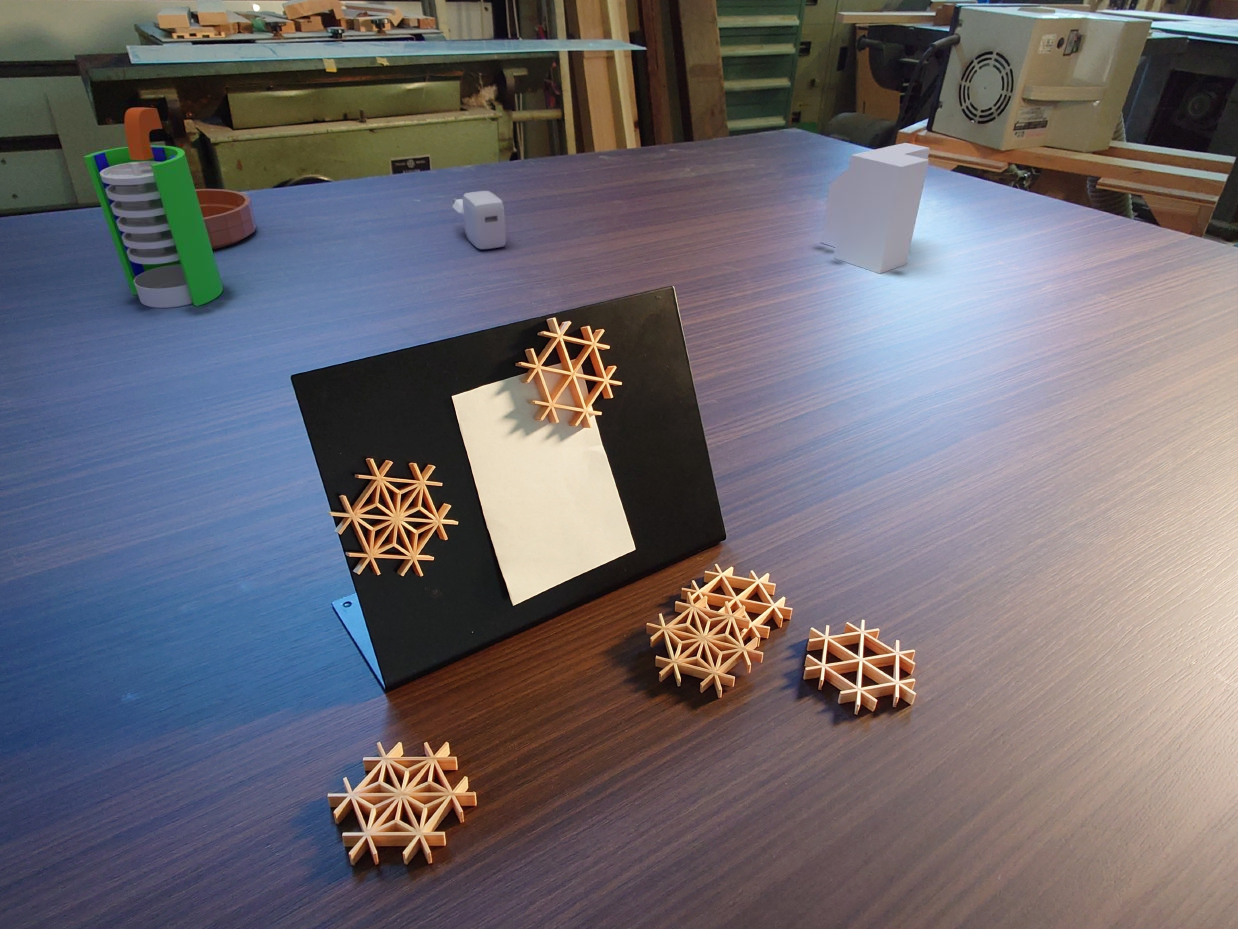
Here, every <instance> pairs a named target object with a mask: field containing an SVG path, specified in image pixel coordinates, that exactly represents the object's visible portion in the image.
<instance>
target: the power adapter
mask: <svg viewBox="0 0 1238 929" xmlns="http://www.w3.org/2000/svg"><path fill="white" fill-rule="evenodd" d="M452 203H453V204H452V209H453V210H454V212H455V213H456V214H457V215H458V216H459V217H460V218H461V219H463V222H464V223H463V224H464V233H465V236H466V238H467V240H468V241H469V242H470V243H471V244H472V245H473V246H474V247H475V248H477V249H478V250H491V249H496V248H502V247H505V246H506V243H507V228H506V227H507V226H506V212H505V205H504V202H503V200H502V199H501V198H500V197H498V196H497V195H496V194H495V193H493V192H492V191H489V190H478V191H471V192H465V193H464V194H463V195H462V197H461V198H456V197H454V198H453V199H452Z"/></svg>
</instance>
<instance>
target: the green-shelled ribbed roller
mask: <svg viewBox="0 0 1238 929" xmlns="http://www.w3.org/2000/svg"><path fill="white" fill-rule="evenodd" d="M159 129H160V130H161V129H163V125H162V121H161V118H160V114H159V111H158V109H157V108H156V107H143V106H142V107H130V108H128V109H127V110H126V111H125V114H124V132H125V138H126V142H127V146H121V147H115V148H109V149H108V148H107V149H104V150H100V151H95V152H92V153H89V154H87V155H85V156H83V159H84V161H85V165H86V167H87V170H88V173H89V175H90V179H91V181H92V184H93V187H94V190H95V192H96V195H97V198H98V201H99V204H100V207H101V210H102V212H103V215H104V218H105V221H106V224H107V226H108V230H109V233H110V235H111V236H110V237H111V238H112V241H113V244H114V247H115V250H116V252H117V255H118V258H119V261H120V264H121V267H122V269H123V272H124V275H125V278H126V281H127V284H128V286H129V289H130V292H131V296H133V295H134V296H138V298H139V301H140V303H141V304H142V305H144V306H147V307H150V308H156V309H165V308H166V309H167V308H169V309H170V308H177V307H182V306H183V307H184V306H188V305H192V304H193V306H194V307H200V306H203V305H205V304H207V303H209V302H211V301H214V300H215V299H217V298H218V297H219V296H220V295H221V294H222V293H223V290H224V287H223V282H222V280H221V276H220V271H219V269H218V265H217V262H216V259H215V255H214V251H213V249H212V247H211V244H210V240H209V237H208V233H207V230H206V226H205V222H204V219H203V215H202V212H201V208H200V205H199V201H198V198H197V194H196V191H195V189H196V187H195V183H194V180H193V177H192V172H191V169H190V166H189V163H188V158H187V156H186V152H185V150H184V149H182V148H180V147H177V146H173V145H172V146H171V145H159V144H157V145H156V144H151V141H150V132H151V131H153V130H159Z"/></svg>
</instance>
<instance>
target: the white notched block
mask: <svg viewBox="0 0 1238 929" xmlns="http://www.w3.org/2000/svg"><path fill="white" fill-rule="evenodd" d="M930 149H931V148H930V147H928V146H923V145H918V144H913V143H908V142H903V143H898V144H894V145H888V146H885V147H880V148H876V149H871V150H866V151H863V152H862V151H861V152H856V153H853V154H850V158H849V164H848V167H847V169H845V170H844V171H843V172H842V173H841V174H839V175H838V176H837V177H836V178H835V179H833V180H832V181H831V182H830V183H829V186H828V191H827V192H828V193H827V199H826V206H825V213H824V218H823V223H822V231H821V237H820V243H821V244H824V245H826V246H830V247H833V248H834V252H833V259H835V260H838V261H841V262H844V263H847V264H850V265H853V266H857V267H859V268H861V269H865V270H868V271H870V272H874V273H877V274H883V273H885V272H889V271H891V270H893V269H897V268H900V267H902V266H905V265H907V264H908V257H909V255H910V249H911V245H912V239H913V237H914V231H915V226H916V222H917V216H918V213H919V212H918V211H919V209H920V204H921V199H922V195H923V190H924V185H925V181H926V177H927V172H928V167H929V163H930V159H929V155H930V151H931V150H930Z"/></svg>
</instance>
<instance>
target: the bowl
mask: <svg viewBox="0 0 1238 929" xmlns="http://www.w3.org/2000/svg"><path fill="white" fill-rule="evenodd" d="M195 191H196V194H197V198H198V201H199V205H200V208H201V212H202V215H203V219H204V222H205V226H206V230H207V233H208V237H209V240H210V244H211V247H212V250H216V249H221V248H225V247H227V246H232V245H234V244H236V243H238V242H241V241H243V240H244V239H246V238H248V236H250V235H252V234H253V233H254V232H255V230H256V228H257V227H258V226H257V225H258V224H257V220H256V216H255V212H254V207H253V204H252V199H251V198H250V197H249V196H248V195H247V194H245V193H243V192H240V191H237V190H230V189H223V188H222V189H221V188H199V189H197V188H195Z"/></svg>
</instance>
